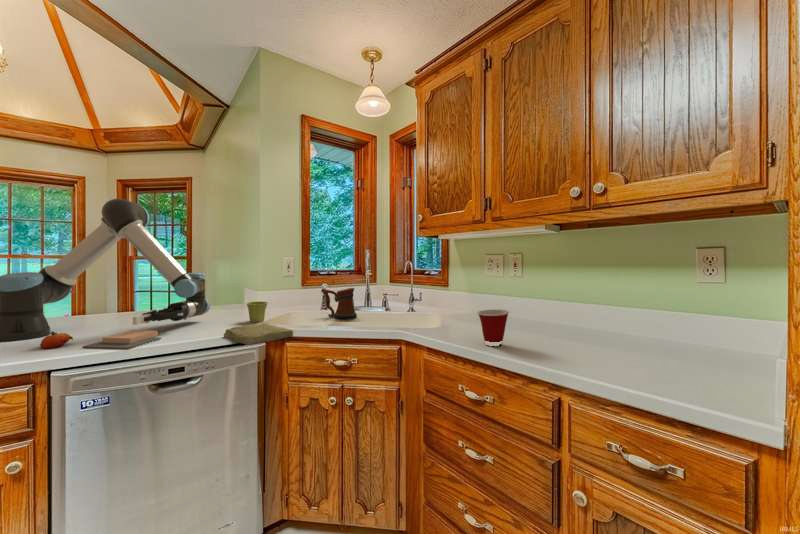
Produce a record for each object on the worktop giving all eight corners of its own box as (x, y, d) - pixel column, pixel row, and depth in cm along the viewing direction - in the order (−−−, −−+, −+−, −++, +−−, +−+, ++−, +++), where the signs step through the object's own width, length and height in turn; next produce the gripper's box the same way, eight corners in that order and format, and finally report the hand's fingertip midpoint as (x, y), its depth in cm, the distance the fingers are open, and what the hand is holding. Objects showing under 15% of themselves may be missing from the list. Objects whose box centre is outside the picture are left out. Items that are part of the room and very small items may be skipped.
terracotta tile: (132, 335, 131) (102, 343, 119) (132, 330, 130) (102, 337, 118) (157, 336, 130) (130, 344, 118) (157, 330, 130) (130, 338, 118)
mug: (317, 319, 171) (317, 288, 171) (324, 315, 183) (324, 286, 182) (354, 319, 170) (354, 288, 169) (359, 315, 181) (359, 286, 181)
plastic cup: (474, 340, 129) (474, 308, 128) (504, 341, 128) (504, 308, 128) (480, 348, 118) (480, 313, 118) (512, 349, 118) (513, 313, 117)
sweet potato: (67, 337, 123) (69, 324, 119) (76, 352, 121) (77, 339, 118) (36, 345, 116) (36, 332, 113) (44, 361, 114) (45, 348, 111)
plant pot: (272, 320, 165) (272, 302, 165) (254, 324, 158) (254, 304, 157) (259, 318, 171) (259, 301, 170) (241, 321, 163) (241, 303, 162)
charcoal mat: (82, 347, 115) (82, 346, 115) (120, 338, 129) (120, 336, 129) (128, 349, 114) (128, 347, 114) (161, 339, 127) (161, 337, 127)
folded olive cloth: (264, 330, 146) (264, 321, 146) (294, 337, 134) (294, 328, 134) (219, 338, 132) (219, 329, 132) (247, 347, 119) (247, 336, 119)
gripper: (195, 319, 149) (151, 331, 125) (166, 319, 150) (117, 330, 126) (195, 302, 148) (151, 310, 125) (166, 301, 149) (117, 310, 126)
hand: (134, 320), depth 125 cm, fingers closed
